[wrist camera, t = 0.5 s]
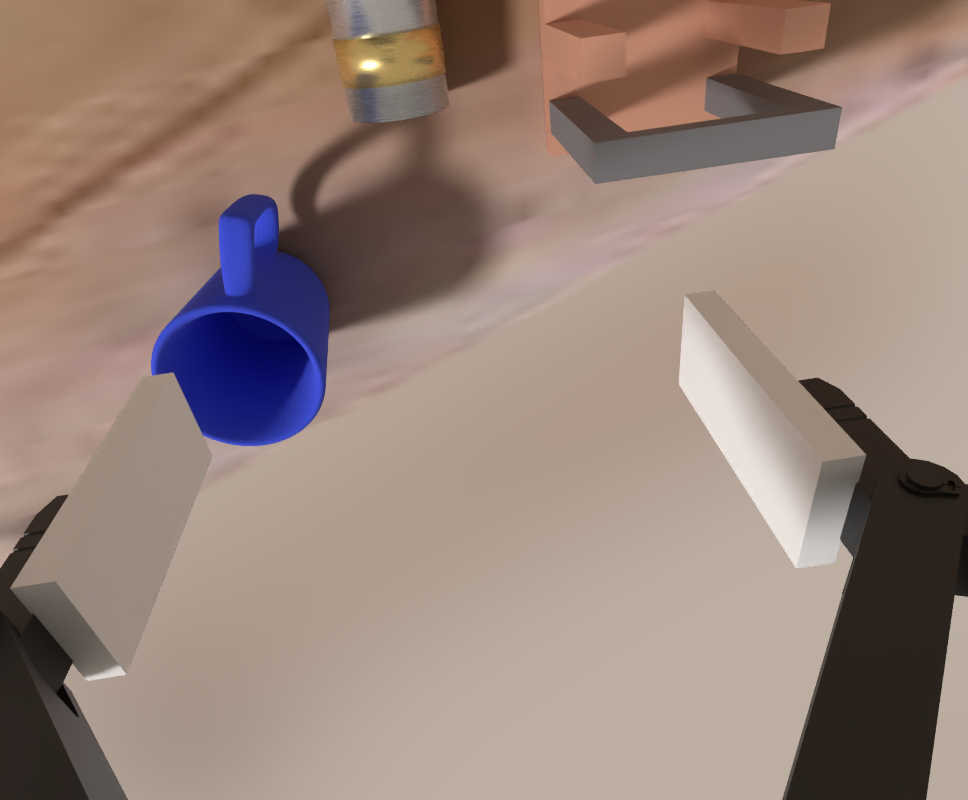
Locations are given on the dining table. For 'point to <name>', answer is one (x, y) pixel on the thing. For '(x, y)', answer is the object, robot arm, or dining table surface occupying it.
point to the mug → (250, 336)
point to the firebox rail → (676, 84)
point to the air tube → (389, 58)
